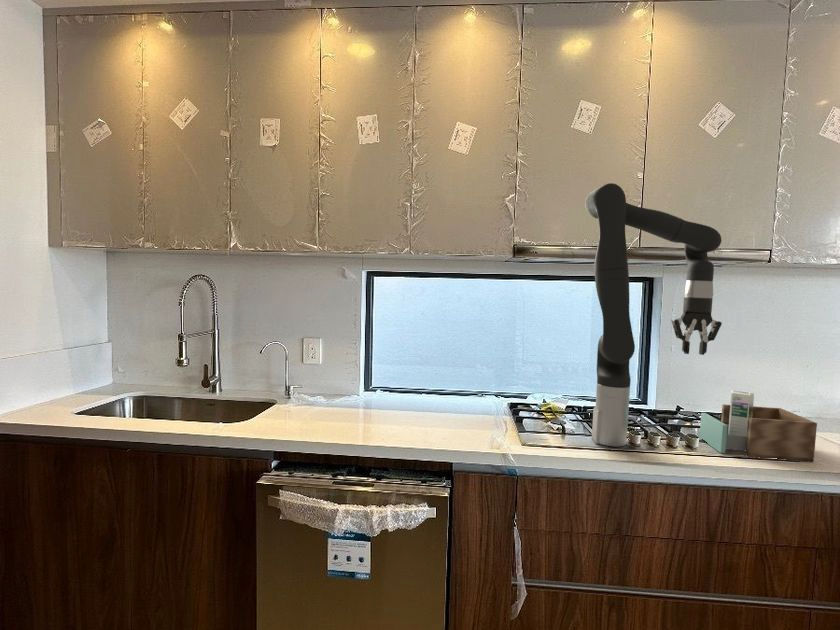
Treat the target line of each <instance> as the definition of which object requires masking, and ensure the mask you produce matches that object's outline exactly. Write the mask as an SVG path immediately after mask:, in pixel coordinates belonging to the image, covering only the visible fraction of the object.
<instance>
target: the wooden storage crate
mask: <svg viewBox="0 0 840 630" xmlns="http://www.w3.org/2000/svg"><path fill="white" fill-rule="evenodd" d="M730 405H731V404H722V405H721V406H722V407H721V419H720V421H721V422H722V423H724V424H726V425H729V418H730ZM817 426H818V423H817V422H815V421H814V420H810V419H809V418H808V419H807V418H805V417H803V416H800V415H798V414H796V413H793V412H792V411H791V412H790V411H788V410H786V409H783V408H781V407H767V406H754V405H753V415H752V418H749V429H748V441H747V450H746V451H747V452H745V453H746V454H745V456H746V455H747V456H748V457H752V459H761V458H777V459H786V460H785V461H788V460H798V461H797V462H803V463H804V462H805V463H814V459H815V449H816V441H817V440H816V437H817V428H818V427H817ZM747 456H746V457H747ZM748 457H747V458H748ZM753 457H755V458H753ZM758 457H760V458H758Z"/></svg>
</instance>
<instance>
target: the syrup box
mask: <svg viewBox="0 0 840 630" xmlns="http://www.w3.org/2000/svg"><path fill="white" fill-rule="evenodd" d="M730 394H731V395H730V404H729V405H730V418H729V430H728V435H739V436H748V429H749V418H752V415H753V406H754V400H755V396H754V395H755V393H754V392H751V391H750V392H749V391H741V390H734V389H733V390H731V393H730Z"/></svg>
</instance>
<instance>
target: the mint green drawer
mask: <svg viewBox="0 0 840 630" xmlns="http://www.w3.org/2000/svg"><path fill="white" fill-rule="evenodd" d="M699 427H700V428H699V437H701V438H702V439H704V440H705V441H706V442H707V443H708V445H709V446H711V447H712V448H713V449H715V451H718V452H719V453H721V454H726V450H734V451H735V450H736V451H744V450H747V441H748V436H739V435H728V430H729V425H726V424H724V423H722V422H721V420H719V419H717V418H716V417H713V416H711V415H710V414H708V413H707V412H701V413H700V425H699ZM702 439H701V440H702ZM706 442H705V443H706ZM707 443H706V444H707Z"/></svg>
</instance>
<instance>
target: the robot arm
mask: <svg viewBox="0 0 840 630" xmlns="http://www.w3.org/2000/svg"><path fill="white" fill-rule="evenodd" d="M584 207H585V210H586V212H587V213H588V214H589V216H591V217H592V218H594V219H598V228H599V235H598V236H599V239H598V243H597V249H596V252H595V259H594V263H593V264H594V268H593V269H594V282H595V289H596V295H597V299H598V302H599V306H600V310H601V313H602V334H601V336H600V337H599V339H598V343H597V350H596V351H597V355H596V375H597V376H596V379H597V380H596V393H595V406H594V407H593V412H592V427H591V439H592V440H593V442H594V443H595V444H598V445H603V446H606V447H607V446H608V447H623V446H626V445H627V438H628V422H629V409H630V408H629V406H630V392H631V375H630V360H631V359H632V357H633V356H634V353H635V351H636V345H635V338H634V334H633V328H632V323H631V316H630V276H629V275H630V274H629V273H630V272H629V262H628V253H627V248H628V247H627V240H626V239H627V237H626V226H629V227H631V228H634V229H637V230H640V231H642V232H643V231H644V232H646V233H648V234H651V235H653V236H656V237H658V238H661V239H664V240H666V241H669V242H671V243H675V244H677V243H678V244H679V243H681V244H684V247H683V249H684V255H685V261H686V265H687V267H686V278H685V279H686V281H685V286H684V295H683V308H682V315H681V317H679V318H672V319H671V325H672V328H673V331H674V335H675V337H676V339H680V340H681V341H682V343H681V344H682V347H681V350H682V352H683V354H685V355H689V354H690V348H691V347H690V346H691V341H690V339H691V337H692V335H693V332H694V331H698V334H699V339H700V341H699V346H698V347H699V348H698V354H699V355H702V356H704V355H705V354H706V353H707V351H708V350H707V349H708V343H709V342H711V341H715V340H716V337H717V335H718V334H719V330H720V328H721V326H722V325H723V324H722V321H719V320H715V319H713V316H712V309H713V299H714V298H713V297H714V272H715V265H714V264H713V262H711V261H710V260H709V259H708V258H709V257H708V253H709V252H714V251H716V250H717V249H718V248H720V246H721V244H722V237H721V234H720V233H719V231H718V230H716V229H715V228H713V227H711V226H708V225H706V224H702V223H697V222H693V221H689V220H688V221H687V220H685V219H683V218H681V217H678V216H675V215H674V214H671V213H668V212H665V211H661V210H656V209H651V208H646V207H641V206H637V205H634V204H631V203H628V202H627V197H626V195H625V191H624V190H623V188H622V187H620V185H618V184H616V183H614V182H613V183H612V182H609V183H606V184H604V185H600V186H599V187H597V188H595V189H594V190H592V191H591V192H590V193H589V194H588V195H587V196H586V198H585V202H584ZM682 323H683V325H684V326H685V327H684V329H683V330H682V329H681V325H682ZM708 326H710V327H711V328H710V330H709V333H708Z"/></svg>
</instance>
